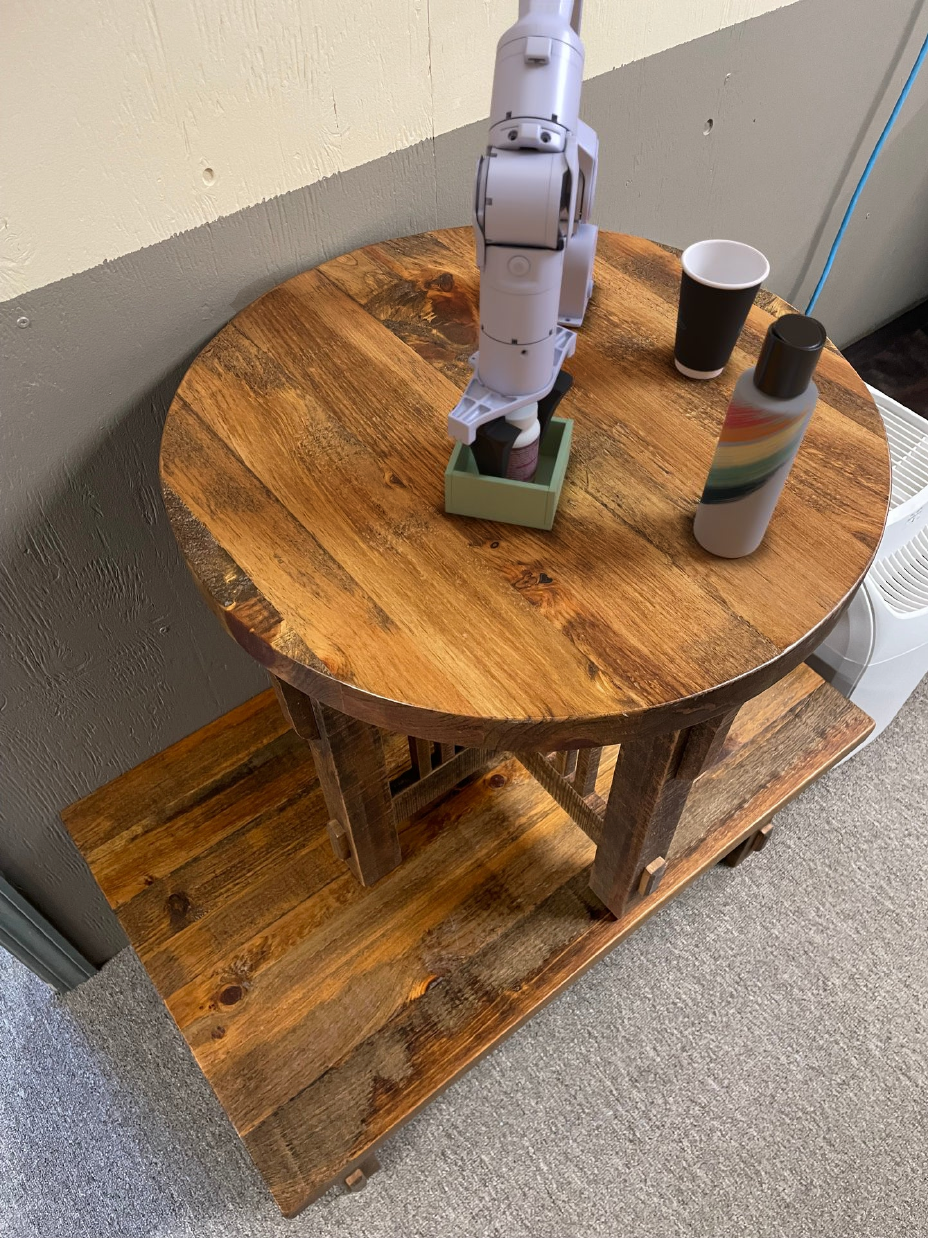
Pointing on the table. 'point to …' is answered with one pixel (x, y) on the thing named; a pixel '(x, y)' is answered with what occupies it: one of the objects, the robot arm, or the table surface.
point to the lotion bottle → (760, 438)
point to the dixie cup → (714, 303)
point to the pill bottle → (524, 444)
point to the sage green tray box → (511, 483)
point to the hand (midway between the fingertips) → (509, 461)
